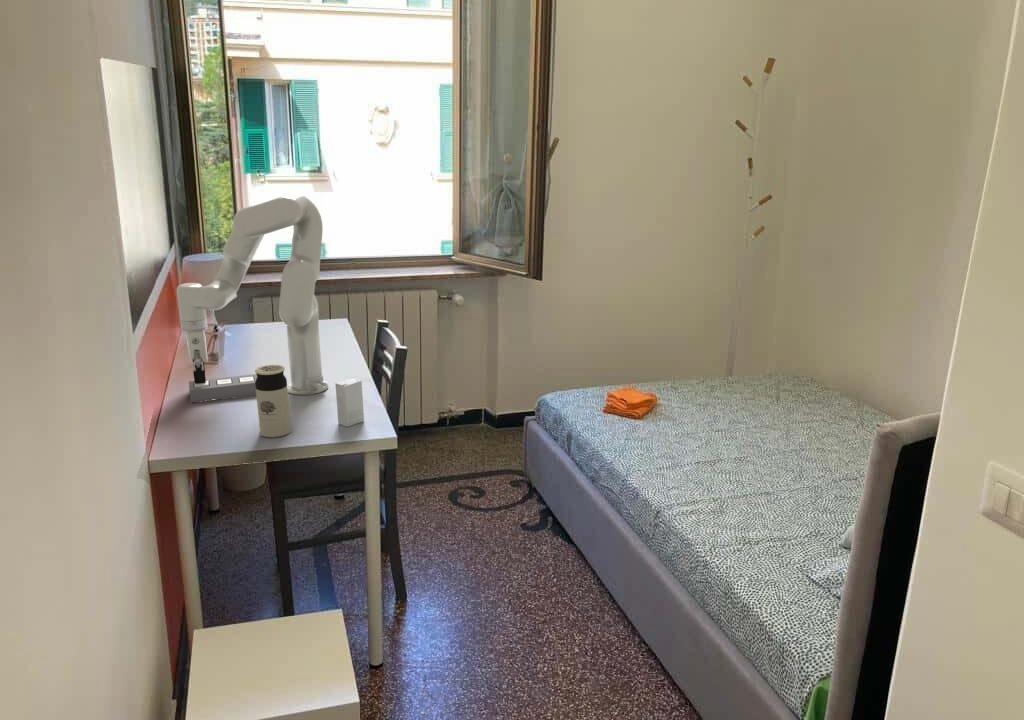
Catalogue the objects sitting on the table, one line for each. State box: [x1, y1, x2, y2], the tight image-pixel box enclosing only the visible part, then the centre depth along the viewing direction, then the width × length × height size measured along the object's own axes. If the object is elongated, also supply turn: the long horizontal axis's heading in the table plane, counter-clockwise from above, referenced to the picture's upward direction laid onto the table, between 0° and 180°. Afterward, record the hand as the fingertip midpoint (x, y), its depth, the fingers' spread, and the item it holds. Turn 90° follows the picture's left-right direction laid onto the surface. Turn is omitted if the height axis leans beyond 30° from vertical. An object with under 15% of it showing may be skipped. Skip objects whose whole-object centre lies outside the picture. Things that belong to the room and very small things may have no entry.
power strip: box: [188, 373, 257, 403], centre depth 238 cm, size 21×9×4 cm, turn 112°
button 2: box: [239, 377, 254, 382], centre depth 240 cm, size 4×4×3 cm
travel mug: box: [254, 364, 292, 439], centre depth 206 cm, size 8×8×18 cm
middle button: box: [217, 379, 232, 385], centre depth 238 cm, size 4×4×3 cm
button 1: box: [194, 381, 209, 388], centre depth 235 cm, size 4×4×3 cm
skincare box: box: [335, 377, 365, 428], centre depth 214 cm, size 6×4×12 cm
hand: (200, 378), depth 239 cm, fingers open, 9 cm apart
